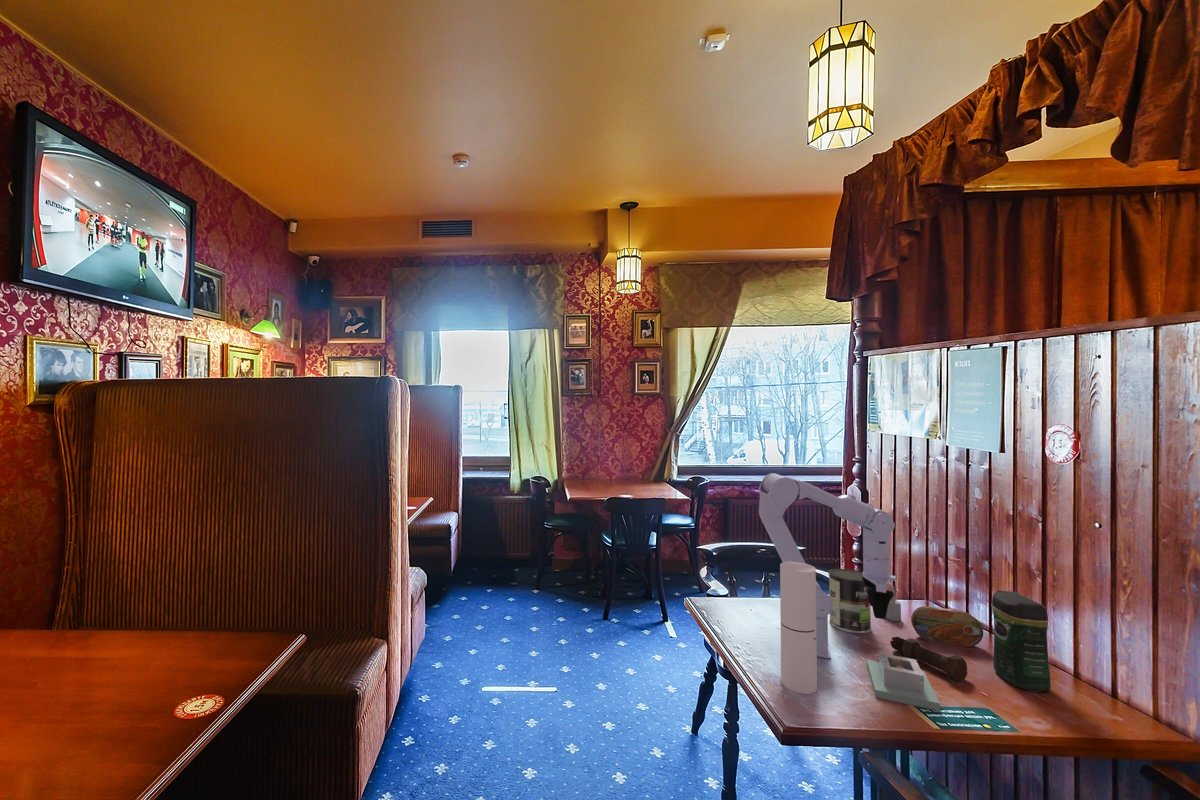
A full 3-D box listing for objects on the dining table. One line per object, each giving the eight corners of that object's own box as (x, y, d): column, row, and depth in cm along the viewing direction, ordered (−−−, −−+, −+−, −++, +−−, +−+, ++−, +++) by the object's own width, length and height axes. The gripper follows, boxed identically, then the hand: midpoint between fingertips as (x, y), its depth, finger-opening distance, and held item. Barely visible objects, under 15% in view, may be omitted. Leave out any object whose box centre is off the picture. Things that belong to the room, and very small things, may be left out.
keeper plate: (875, 697, 94) (875, 677, 94) (866, 666, 106) (866, 648, 106) (940, 711, 89) (939, 690, 90) (923, 677, 101) (923, 658, 101)
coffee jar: (1059, 696, 95) (1056, 605, 96) (1015, 691, 96) (1012, 602, 97) (1026, 671, 104) (1023, 589, 105) (986, 667, 106) (984, 586, 107)
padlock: (873, 610, 137) (873, 577, 137) (886, 610, 137) (886, 577, 137) (889, 621, 130) (889, 585, 130) (903, 621, 130) (902, 585, 130)
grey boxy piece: (884, 685, 95) (883, 668, 96) (878, 668, 102) (878, 652, 102) (924, 693, 93) (923, 676, 93) (916, 676, 99) (915, 659, 99)
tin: (913, 639, 119) (912, 606, 120) (910, 633, 122) (909, 602, 123) (984, 650, 114) (983, 616, 114) (979, 644, 117) (978, 611, 117)
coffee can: (879, 628, 125) (878, 576, 126) (857, 637, 120) (856, 583, 120) (843, 614, 134) (842, 566, 134) (821, 622, 129) (820, 571, 129)
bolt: (896, 657, 114) (963, 687, 100) (884, 649, 112) (950, 680, 98) (903, 634, 115) (970, 661, 101) (890, 626, 114) (957, 653, 100)
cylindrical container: (773, 678, 100) (772, 563, 101) (797, 671, 103) (796, 560, 104) (799, 697, 94) (798, 573, 95) (824, 689, 96) (823, 569, 98)
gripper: (901, 567, 106) (902, 627, 105) (889, 551, 119) (890, 604, 118) (866, 563, 109) (867, 621, 108) (858, 548, 122) (859, 599, 121)
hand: (877, 612), depth 113 cm, fingers open, 7 cm apart
